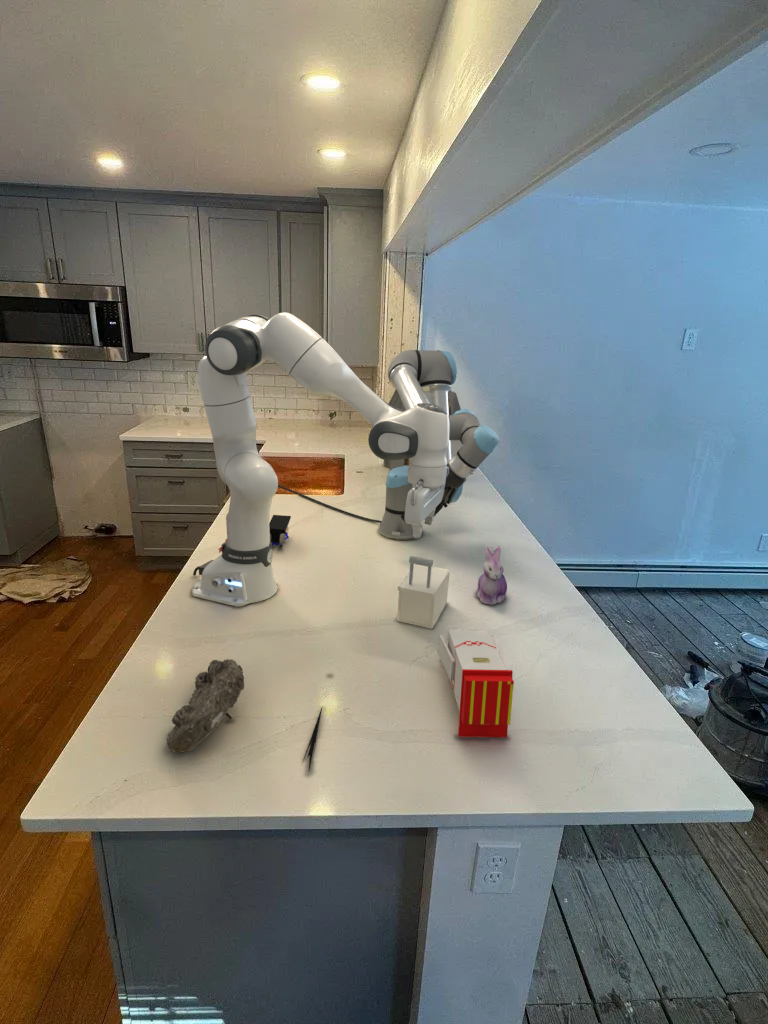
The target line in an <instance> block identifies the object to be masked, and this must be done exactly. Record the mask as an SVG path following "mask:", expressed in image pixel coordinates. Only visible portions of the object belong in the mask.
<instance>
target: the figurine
mask: <svg viewBox="0 0 768 1024" xmlns="http://www.w3.org/2000/svg"><path fill="white" fill-rule="evenodd" d="M501 547H502V546H500V545H498V546H497V547H496V548H495V550H494V552H493V553H492V551H491V549H490V548H489V547H487V546H486V547H485V548H484V553H485V555H484V556H485V562H484V564H483V566H482V567H483V568H482V570H483V573H482V574H481V575H480V576H479V577H478V579H477V580H478V581H477V591H476V596H477V598H478V599H479V600H480V602H481V603H482V604H485V605H496V604H500V603H502V602H503V601H504V600H505V598H506V595H507V591H508V582H507V580H506V577H505V575H504V574H503V573H504V571H505V570H504V566H503V563H502V561H501V552H502V548H501Z"/></svg>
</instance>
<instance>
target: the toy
mask: <svg viewBox="0 0 768 1024" xmlns="http://www.w3.org/2000/svg"><path fill="white" fill-rule="evenodd" d="M446 640H447V643H446V641H445V639H444V636H443V635H442V634H439V637H438V646H437V656H438V657H439V659H440V661H441V663H442V666H443V668H444V670H445V672H446V674H447V677H448V679H449V681H450V684H451V687H452V690H453V693H454V697H455V701H456V705H457V708H458V711H459V714H458V715H459V716H458V730H457V731H458V732H457V737H458V738H508V731H509V726H510V725H511V717H512V707H513V697H514V696H513V695H514V684H515V680H514V679H513V673H514V671H513V670H512V669H508V667H507V665H506V662H505V661H504V659H503V658H502V655H501V653H500V651H499V649H498V647H497V643H496V639H495V637H494V635H493V634H491V632H490V631H489V629H467V628H466V629H465V628H463V629H461V628H460V629H459V628H448V630H447V639H446Z"/></svg>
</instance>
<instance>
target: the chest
mask: <svg viewBox="0 0 768 1024" xmlns="http://www.w3.org/2000/svg"><path fill="white" fill-rule="evenodd" d="M449 582H450V574H449V575H448V576H447V578H446V579H445V581H444V583H443V584H442V586H441V588H440V589H439V591H438V592H437V594H436V596H435V597H434V598H432V597H427V596H422V595H418V594H413V593H408V592H404V591H399V590H398V595H397V596H398V597H397V598H398V599H397V615H396V621H397V622H401V623H404V624H409V625H410V624H411V625H413V626H417V627H418V626H419V627H422V628H426V629H431V630H432V629H433V628H434V627H435V625H436V623H437V621H438V620H439V618H440V616H441V615H442V613H443V611H444V609H445V607H446V606H447V603H448V593H449Z"/></svg>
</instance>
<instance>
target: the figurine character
mask: <svg viewBox="0 0 768 1024" xmlns="http://www.w3.org/2000/svg"><path fill="white" fill-rule="evenodd" d="M291 517H292V516H291V515H284V514H283V515H282V514H273V515H272V517H271V519H270V520H269V526H270V541H271V544H272V549H273V548H274V546H279V547H278V550H281V549H283V548H282V547H283V546H284V545H285V544H286V541H287V540H288V539H289V538H290V536H289V523H290V521H291Z"/></svg>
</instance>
